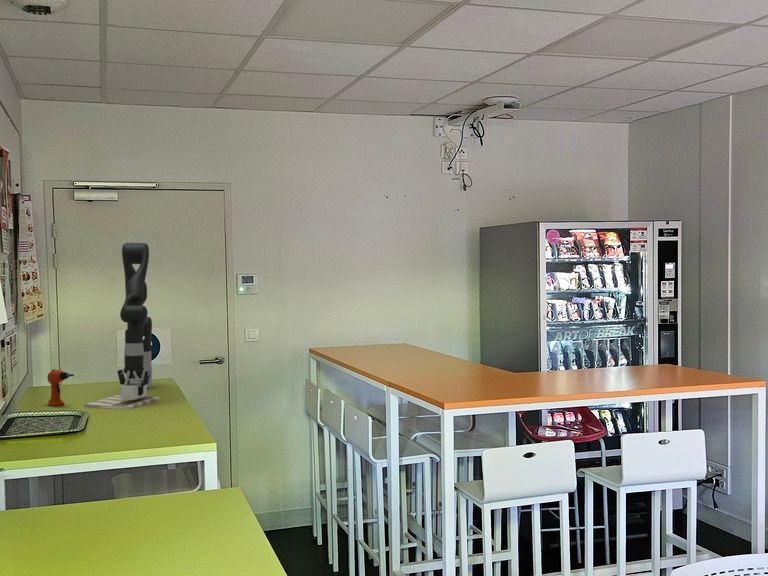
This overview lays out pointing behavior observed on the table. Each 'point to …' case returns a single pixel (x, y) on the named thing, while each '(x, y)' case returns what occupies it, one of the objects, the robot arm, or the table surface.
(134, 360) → the robot arm
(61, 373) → the toy drill
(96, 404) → the subfloor panel
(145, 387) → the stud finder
